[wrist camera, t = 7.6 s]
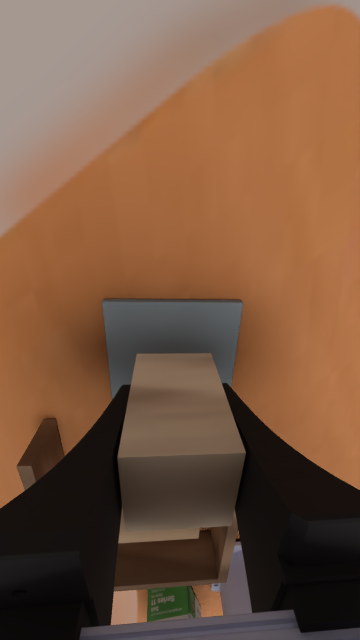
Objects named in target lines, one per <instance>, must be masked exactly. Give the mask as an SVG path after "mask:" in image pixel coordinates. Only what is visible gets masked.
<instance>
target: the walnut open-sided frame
mask: <svg viewBox="0 0 360 640" xmlns="http://www.w3.org/2000/svg"><path fill="white" fill-rule="evenodd" d="M63 458H64V453H63V449H62V444H61V440H60V436H59V431H58V427H57V423H56V419H44V420H43V422H42V423H41V425H40V427H39V429H38V430H37V432H36V434H35V435H34V437H33V439H32V441H31V442H30V444H29V446H28V448H27V449H26V451H25V453H24V454H23V456H22V458H21V460H20V461H19V463H18V465H17V469H18V472H19V475H20V478H21V480H22V483H23V486H24V489H25V490H26V489H28V488H29V487H30V486H31V485H33V484H34V483H35V482H36V481H37V480H39V479H40V478H41V477H42V476H43V475H45V474H46V473H47V472H48V471H49V470H51V469H52V468H53V467H54V466H55V465H56V464H57V463H58V462H59V461H61V460H62V459H63ZM199 530H200V528H188V529H171V530H154V531H137V532H125V527H124V517H123V507H122V514H121V523H120V532H119V542H118V552H117V562H116V572H115V582H114V591H126V590H139V589H153V588H166V587H179V586H192V585H205V584H218V583H226V582H227V578H228V573H229V568H230V564H231V559H232V555H233V550H234V546H235V541H236V537H237V532H238V525H237V519H236V514H235V509H234V514H233V519H232V524H231V526H222V527H211V531H199Z"/></svg>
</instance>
